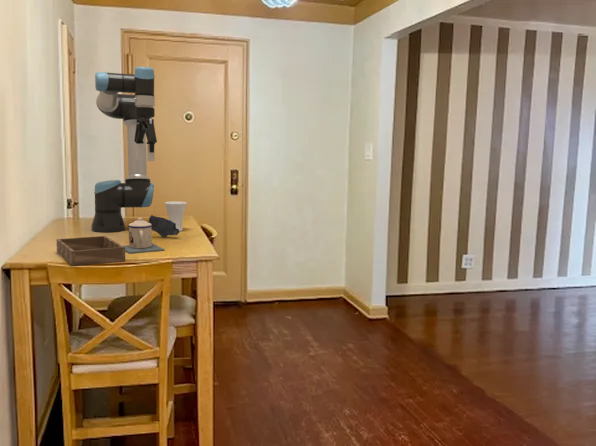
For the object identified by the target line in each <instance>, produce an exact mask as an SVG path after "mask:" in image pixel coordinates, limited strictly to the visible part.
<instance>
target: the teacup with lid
mask: <svg viewBox="0 0 596 446" xmlns="http://www.w3.org/2000/svg"><path fill="white" fill-rule="evenodd" d="M148 222H149V221H148ZM148 222H147V221H146V220H144V218H143V217H137V219H136V220H135V221H133V222H130V223H129V224H128V245H129V247H131V248H137V249H141V248H149V247H151V246H152V241H153V240H152V230H151V227H152V224H151V223H148Z"/></svg>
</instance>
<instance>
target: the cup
mask: <svg viewBox="0 0 596 446" xmlns="http://www.w3.org/2000/svg"><path fill="white" fill-rule="evenodd" d="M187 203H188V202H186V201H178V200H177V201H173V200H172V201H166V202H164V205H165V208H166V211H167V215H168V220H169V221H172V222H174V223H176V229H179V231H180V232H182V231H183V230H184V229H183V219H184V214H185V210H186V208H187V205H188V204H187Z"/></svg>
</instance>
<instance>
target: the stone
mask: <svg viewBox="0 0 596 446" xmlns="http://www.w3.org/2000/svg"><path fill="white" fill-rule="evenodd" d="M148 223H151V224H152V227H151V231H152V232H154V233H155V232H156V233H157V234H158V235H159V236H160V237H162V238H167V237H168V236H178V234H180V232H181V231H179V229H176V223H174V222H172V221H169V219H167V218H164V217H161V216H156V215H153V214H151V215H150V217H149V218H148Z"/></svg>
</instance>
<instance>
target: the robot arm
mask: <svg viewBox="0 0 596 446" xmlns="http://www.w3.org/2000/svg"><path fill="white" fill-rule="evenodd" d="M94 82H95V83H94V86H95V90H96V91H97V92H99V93H98V95H97V97H96V102H95V103H96V106H97V108H98V110H99V111H100V112H101V113H102V114H103V115H105V116H107V117H109V118H112V119H118V120H123V124H124V125H125V126H126V134H127V136H126V139H127V172H128V175H127V177H126V178H125V179H124V182H121V180H120V179H113V180H112V179H110V180H104V181H98V182H96V183H95V184H94V193H93V194H94V216H93V219H92V223H91V226H90V227H91V229H90V230H91V231H92V232H97V233H115V232H116V233H117V232H123V231H125V230H126V223H125V220H124V218H123V215H122V208H128V209H129V208H149V207H150V206H151V205H152V203H153V200H154V199H153V198H154V192H155V191H154V190H155V189H154V188H155V184H154V183H153V182H151V178H150V177H149V176H148V171H147V170H148V169H147V168H148V165H147V162H155V159H156V158H155V157H156V156H155V155H156V153H155V145H156V144H157V143H158V142H157V141H158V139H157V135H156V129H155V121H154V117H155V111H156V110H155V108H154V107H155V103H156V101H155V100H156V99H155V70H154V68H152V67H150V66H149V67H148V66H137V67H135V68H134V74H131V73H116V72H106V71H103V72H102V71H100V72H99V71H98V72H95V74H94ZM124 93H125V94H124Z"/></svg>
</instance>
